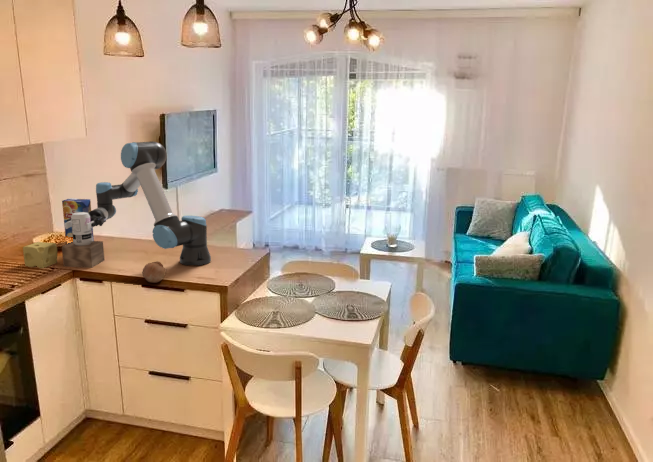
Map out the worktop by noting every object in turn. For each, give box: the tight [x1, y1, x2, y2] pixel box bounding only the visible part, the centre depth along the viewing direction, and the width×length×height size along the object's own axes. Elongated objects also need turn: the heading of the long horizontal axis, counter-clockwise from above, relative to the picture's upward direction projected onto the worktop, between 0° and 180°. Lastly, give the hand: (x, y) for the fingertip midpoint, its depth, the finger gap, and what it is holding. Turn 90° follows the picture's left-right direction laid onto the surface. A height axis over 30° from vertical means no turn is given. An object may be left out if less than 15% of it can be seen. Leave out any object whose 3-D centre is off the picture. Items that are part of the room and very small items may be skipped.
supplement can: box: [71, 212, 92, 246], centre depth 248 cm, size 8×8×15 cm
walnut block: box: [61, 240, 105, 269], centre depth 250 cm, size 14×12×10 cm
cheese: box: [22, 241, 58, 269], centre depth 247 cm, size 10×11×10 cm
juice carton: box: [61, 197, 95, 241], centre depth 284 cm, size 12×8×24 cm, turn 81°
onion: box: [142, 261, 166, 284], centre depth 229 cm, size 10×9×10 cm
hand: (76, 226), depth 243 cm, fingers open, 10 cm apart
